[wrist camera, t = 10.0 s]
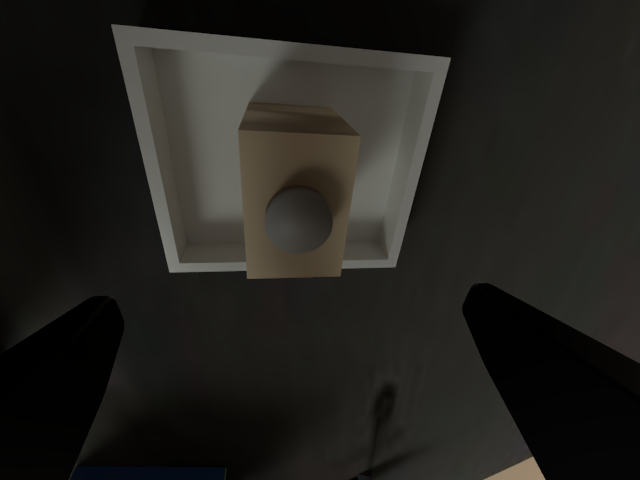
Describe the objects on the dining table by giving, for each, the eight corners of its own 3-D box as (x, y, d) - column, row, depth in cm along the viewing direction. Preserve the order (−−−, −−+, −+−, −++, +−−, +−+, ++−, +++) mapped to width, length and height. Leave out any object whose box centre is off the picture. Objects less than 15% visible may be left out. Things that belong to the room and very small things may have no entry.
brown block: (253, 213, 18) (245, 291, 12) (249, 101, 14) (235, 136, 9) (321, 213, 18) (343, 288, 12) (330, 107, 15) (367, 142, 9)
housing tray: (181, 247, 19) (169, 272, 17) (137, 28, 13) (111, 24, 11) (382, 245, 21) (395, 267, 19) (425, 56, 15) (451, 57, 13)
